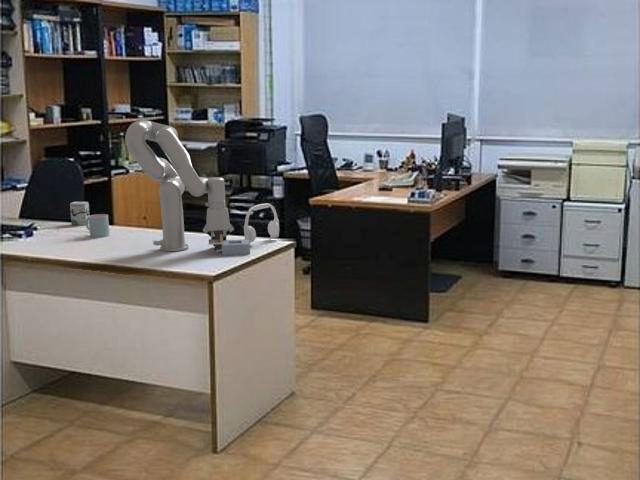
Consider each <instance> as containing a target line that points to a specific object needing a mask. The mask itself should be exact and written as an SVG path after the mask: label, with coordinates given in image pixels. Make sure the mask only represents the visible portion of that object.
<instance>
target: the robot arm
mask: <svg viewBox="0 0 640 480" xmlns="http://www.w3.org/2000/svg"><path fill="white" fill-rule="evenodd" d="M146 140H147V141H152V142H156V143H157V144H158V145H159V147H160V148H161V150H162V151H163V153H164V154H165V156H166V157H167V158H168V160H169V161H168V160H167V159H166V158H163V157H159V156H157V154H156V153H155V152H154V150H153V149H152V148H151V147H150V146H149V144H147V141H146ZM125 145H126V148H127V150H128V151H129V153H130V155H131V156H132V157H133V159H134V160H135V161H136V162H137V164H138V165H139V166H140V168H141V169H142V170H143V172H144V173H145V175H146V176H147V177H148V178H149V179H150V180H151V181H157V183H158V184H159V185H160V186H159V189H158V194H159V195H158V196H159V201H160V210H161V211H160V212H161V224H162V225H161V227H162V239H160V240H153V242H152V243H153V246H160V248H159V249H160V250H161V251H163V252H179V251H180V252H181V251H185V250H187V249H189V245H188V244H187V243H186V239H185V224H184V223H185V222H184V209H183V208H184V207H183V199H182V195H183V193H184V192H185V190H187V191H188V193H190V195H191V196H194V197H201V196H203V195H204V194H206V193H207V195H208V196H207V197H208V202H205V203H204V204H205V207H207V210H206V224H205V225H204V227H203V229H202V231H203V233H205V234H206V235H208V236H209V237H210V239H214V231H223V240H227V237H228V235H230V233H232V232H233V231H234V230H235V229H234V227H233V225H232V224H231V223H230V215H229V208H228V207H226V206H227V205H226V188H225V187H226V185H225V182H226V181H225V179H224V178H223V177H221V176H219V177H218V176H217V177H215V176H214V177H204V176H199V175H198V174H197V172H196V170H195V169H194V167H193V165H192V161H191V156H190V153H189V152H188V150H187V148H185V147H184V145H183V143H182V142H181V140H180V139H179V135H178V131H177V129H175V128H174V127H173V126H170V125H166V124H164V123H163V124H162V123H158V122H155V121H151V120H147V119H142V120H141V119H140V120H136V121H134V122H132V123H131V124H130V125H129V126H128V128H127V130H126V132H125ZM185 188H186V189H185ZM212 246H213V247H215V245H212Z"/></svg>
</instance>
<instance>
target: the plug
mask: <svg viewBox="0 0 640 480" xmlns="http://www.w3.org/2000/svg"><path fill="white" fill-rule="evenodd" d="M220 234H222V237H223V235H224V233H223V231H214V239H220ZM223 241H224V240H223ZM214 249H215V250H220V249H221V250H222V244H215V246H214Z"/></svg>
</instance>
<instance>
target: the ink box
mask: <svg viewBox="0 0 640 480" xmlns="http://www.w3.org/2000/svg"><path fill="white" fill-rule="evenodd" d="M69 206H70V207H69V208H70V209H69V211H70V221H71V224H70V225H72V226H86V219H87V218H88V217H89V216H90V204H89V202H88V201H73V202H70V203H69ZM88 225H89V220H88Z"/></svg>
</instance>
